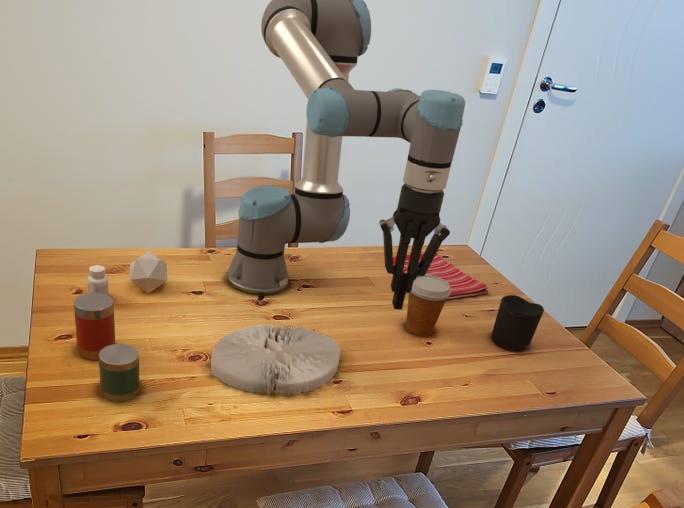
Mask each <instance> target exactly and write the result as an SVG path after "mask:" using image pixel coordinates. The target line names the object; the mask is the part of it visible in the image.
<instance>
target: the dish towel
mask: <svg viewBox="0 0 684 508" xmlns="http://www.w3.org/2000/svg"><path fill="white" fill-rule="evenodd" d="M423 254H424V253H421V255H420V259H419V262H420V260H421V258H422V256H423ZM409 258H410V254H407V255H406V260H405V264H404V269H403V273H406V274H407V267H408V263H409ZM395 260H396V256H393V266H394V265H395ZM425 275H431V276H436V277H439V278H441V279H443V280H445V281H446V282H448V284H449V285H450V291H451V293H450V295H449V296H448V298H447V299H446V301H447V300H453V299H459V298H461V299H462V298H467V297H475V296H479V295H480V296H481V295H486V294H488V293H489V290H487V289H488V285H487V283H484V282H482V281H480V280H477V279H475V278H474V277H472V276H470V275H469V274H467V273H465V272H463V271H462V270H460V269H459V268H457V266H455V265H454V264H452V263H451V262H448V261H447V260H446V259H445V258H444V257H442V256H440V255H439V254H438V252H437V253H436V255H435V257H434V259H433V261H432V263H431V265H430V267H429V268H428V270H427V272H426V274H425Z"/></svg>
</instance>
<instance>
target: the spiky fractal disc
mask: <svg viewBox="0 0 684 508" xmlns="http://www.w3.org/2000/svg"><path fill="white" fill-rule="evenodd" d="M276 339H277V340H276ZM340 355H341V347H340V346H339V343H338V341H337V340H336V339H334V338H332V337H330V336H328V335H327V334H325V333H322V332H319V331H316V330H314V329H309V328H306V327H303V326H297V325H296V326H295V325H289V324H282V325H280V324H276V325H274V324H267V323H265V324H264V323H261V324H255V325H248V326H242V327H241V328H239V329H236V330H235V331H232V332H229V333H227V334H226V335H224V337H222V338H220V339H219V341H216V344H215V345H214V347H213V350H212V352H211V356H210V371H211V375H212V377H214V378H216V379H217V380H218V381H219V382H221V383H222V384H225V385H227V386H231V387H232V388H235V389H237V390H243V392H247V393H256V394H263V395H269V396H270V395H271V393H274V392H275V393H274V394H275V395H276V396H278V394H282V395H285V396H286V395H287V396H290V395H299V394H300V395H301V393H303V394H306V393H309V392H311V391H314V390H316V389H317V388H320V387H322V386H324V385H325V384H327V383H328V382H329V381H331V379H332V378H334V376H335V375H336V373H337V372H338V368H339V363H340V357H341V356H340ZM277 374H278V379H277Z"/></svg>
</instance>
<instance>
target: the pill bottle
mask: <svg viewBox="0 0 684 508" xmlns="http://www.w3.org/2000/svg"><path fill="white" fill-rule="evenodd" d="M87 293H103V294H106V295H109V293H110V292H109V278H108V276H107V275H106V267H105V266H103V265H101V264H100V265H99V264H95V265H91V266H89V268H88V277H87ZM109 296H110V295H109Z"/></svg>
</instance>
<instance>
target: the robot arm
mask: <svg viewBox="0 0 684 508" xmlns="http://www.w3.org/2000/svg"><path fill="white" fill-rule="evenodd" d="M260 29H261V35H262V36H261V37H262V39H263V42H264V43H265V45H266V47H267V48H268V50H269V51H270V52H271V54H273V55H274V56H275V57H277V58H279V59H281V60H282V62H283V64H284V66H286V68H287V69H288V71H289V73H290V74H291V76H292V77H293V78H294V80H295V82H296V83H297V85H298V87H299V88H300V89H301V91H302V93H304V96H305V97H306V99H307V103H306V115H305V116H306V124H305V125H306V126H305V138H304V152H303V162H302V163H303V164H302V177H301V179H300V180H298V182H296V184H295V185H294V193H292V194H291V192H290V190H289V189H287V188H285V187H282V186H280V185H278V186H275V185H260V186H255V187H252V188H249V189H248V190H246V191H245V192H244V193H243V194H242V196H241V198H240V204H239V209H238V227H237V230H238V231H237V242H236V250H235V253H234V255H233V258H232V260H231V262H230V265H229V268H228V271H227V279H226V280H227V282H228V285H230V286H231V287H233V288H234V289H235V290H238V291H240V292H242V293H245V294H250V295H258V296H269V295H275V294H278V293H281V292H283V291H284V290H286V289H287V287H288V285H289V273H288V269H287V264H286V259H285V247H286V245H287V244H309V243H318V244H324V243H329V242H335V241H338V240H339V239H340V238H342V237H343V236H344V234H345V232H346V231H347V229H348V227H349V223H350V218H351V207H350V200H349V197H347V195H345V194H344V187H343V186H342V185H341V184H340V183H339V175H340V174H339V173H340V164H341V154H342V153H341V152H342V145H343V137H358V138H359V137H363V138H364V137H368V138H395V139H396V138H398V139H402V140H404V141H405V142H407V143H409V144H410V145H409V149H408V154H407V160H406V164H405V168H404V173H403V178H402V181H403V184H402V185H401V188H400V193H399V198H398V203H397V208H396V209H395V210H394V212H393V214H392V217H390V218H387V219H381V220H380V221H379V223H378V224H379V227H380V229H381V231H382V237H383V238H382V239H383V257H384V268H385V270H386V272H387V274H388V275H389V274H390V275H392V277H391V283H390V289H391V292H392V293H393V296H392V301H391V304H392V306H393V310H399V311H402V310H403V308H404V304H405V303H404V302H405V298H406V294H409V293H410V292H411V290H412V286H413V282H414V280H415V279H416V277H417V276H425V274H426V272H427V270H428V268H429V267H430V265H431V263H432V261H433V259H434V257H435V255H436V253H437V254H438V251H439V249H440V247H441V245H442V243H443V242H444V241H445V240H446V239H447V238H448V237H449V236H450V234H451V230H450V229H449V228H448V227H447V225H446V224H443V223H442V222H441V217H440V213H441V211H442V205H443V201H444V196H445V192H444V190H445V189H446V188H447V184H448V181H449V176H450V171H451V167H452V163H453V160H454V156H455V152H456V148H457V143H458V140H459V136H460V134H461V133H460V132H461V129H462V126H463V124H464V123H463V121H464V119H463V118H464V113H465V107H466V99H465V98H464V97H463V96H462V95H461V94H459V93H455V92H452V91H451V92H450V91H448V90H442V89H441V90H440V89H425V90H424V91H422V92H421V95H419V94H417V93H416V92H413V91H412V90H409V89H403V88H399V87H398V88H391V89H390V90H387V91H379V90H362V89H356V88H354V87H353V86H352V84H350V82H349V78H350V73H351V72H352V70H353V69H355V67H357V66H358V59H359V57H361V56H362V55H364V54H365V53H366V52H367V50H368V48H369V45H370V44H371V43H370V42H371V37H372V20H371V14H370V10H369V8H368V5H367V3H366V2H365V0H270V2H268V4H267V5H266V7H265V9H264V12H263V14H262V17H261V23H260ZM394 225H396V228H397V230H398V232H399V233H400V235H399V242H398V246H397V251H396V260H395V265H394V266H393V257H394V253H393V251H394V250H393V237H392V232H393V230H394ZM432 232H434V234H433V235H432V237H431V238H430V240H429V243H428V244H427V246H426V249H425V251H424V252H423V253H422V250H423V246H424V244H425V241H426V238H427V237H428V236H429V235H431V233H432ZM412 239H413V241H412V244H411V240H412ZM410 244H411V245H412V246H411V249H410V254H409V255H410V258H409V263H408V267H407V274H406V273H403V269H404V264H405V260H406V255H408V252H409V251H408V250H409V246H410ZM421 254H423V256H422V258H421V260H420V262H419V259H420V255H421Z"/></svg>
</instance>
